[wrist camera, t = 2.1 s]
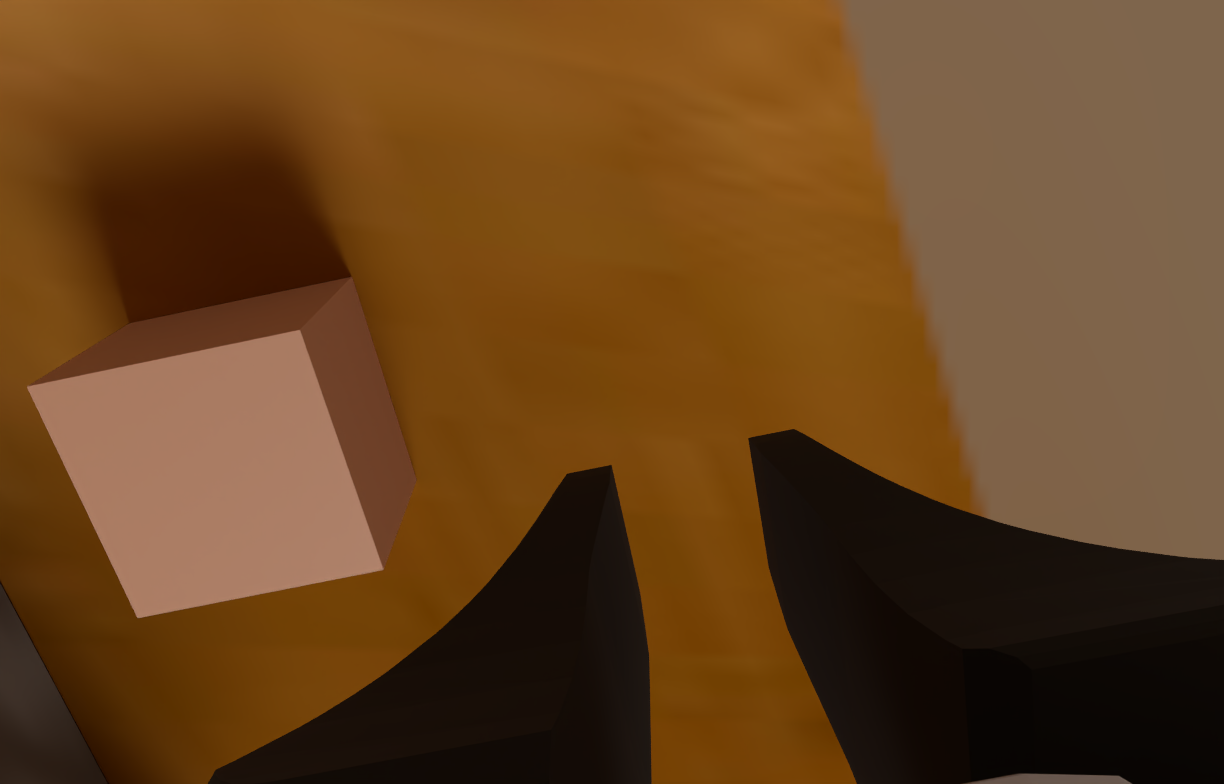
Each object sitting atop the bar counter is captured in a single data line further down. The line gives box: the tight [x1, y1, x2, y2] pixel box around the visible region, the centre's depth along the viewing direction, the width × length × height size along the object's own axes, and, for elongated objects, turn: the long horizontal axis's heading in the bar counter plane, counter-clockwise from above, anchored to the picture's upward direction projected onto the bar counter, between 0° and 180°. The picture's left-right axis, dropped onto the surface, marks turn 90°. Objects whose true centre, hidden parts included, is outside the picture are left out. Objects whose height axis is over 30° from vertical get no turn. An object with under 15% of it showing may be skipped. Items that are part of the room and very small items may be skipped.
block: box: [27, 277, 416, 618], centre depth 18 cm, size 5×5×4 cm
